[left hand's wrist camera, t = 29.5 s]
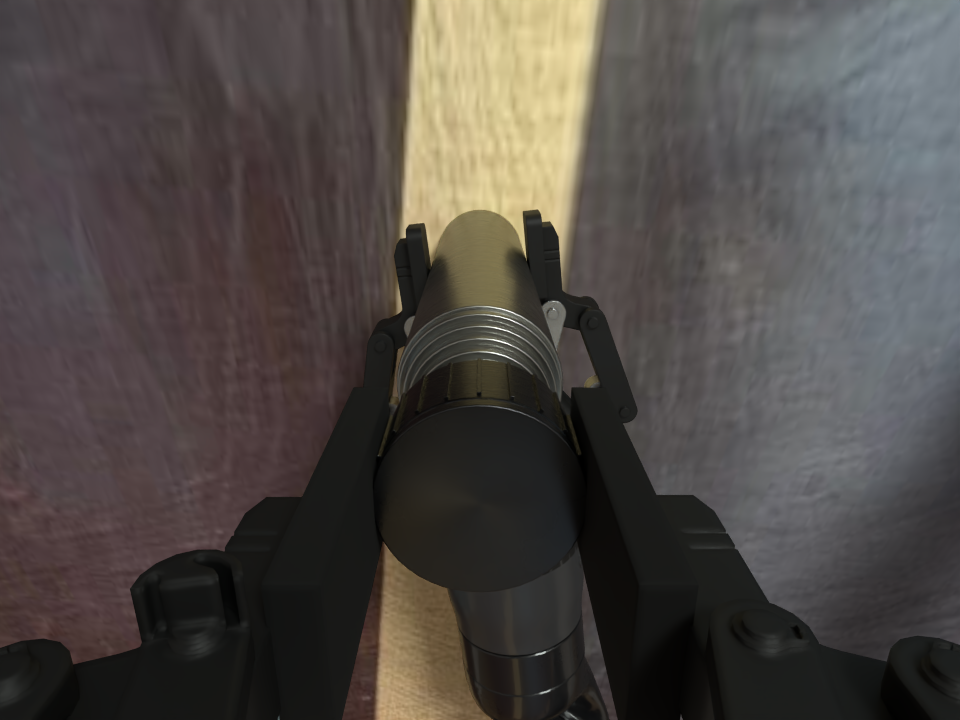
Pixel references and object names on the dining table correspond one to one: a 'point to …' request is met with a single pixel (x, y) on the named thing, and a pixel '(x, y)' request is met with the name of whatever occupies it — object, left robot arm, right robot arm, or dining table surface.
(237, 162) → the dining table surface
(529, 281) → the bottle
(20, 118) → the dining table surface
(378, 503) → the cap
